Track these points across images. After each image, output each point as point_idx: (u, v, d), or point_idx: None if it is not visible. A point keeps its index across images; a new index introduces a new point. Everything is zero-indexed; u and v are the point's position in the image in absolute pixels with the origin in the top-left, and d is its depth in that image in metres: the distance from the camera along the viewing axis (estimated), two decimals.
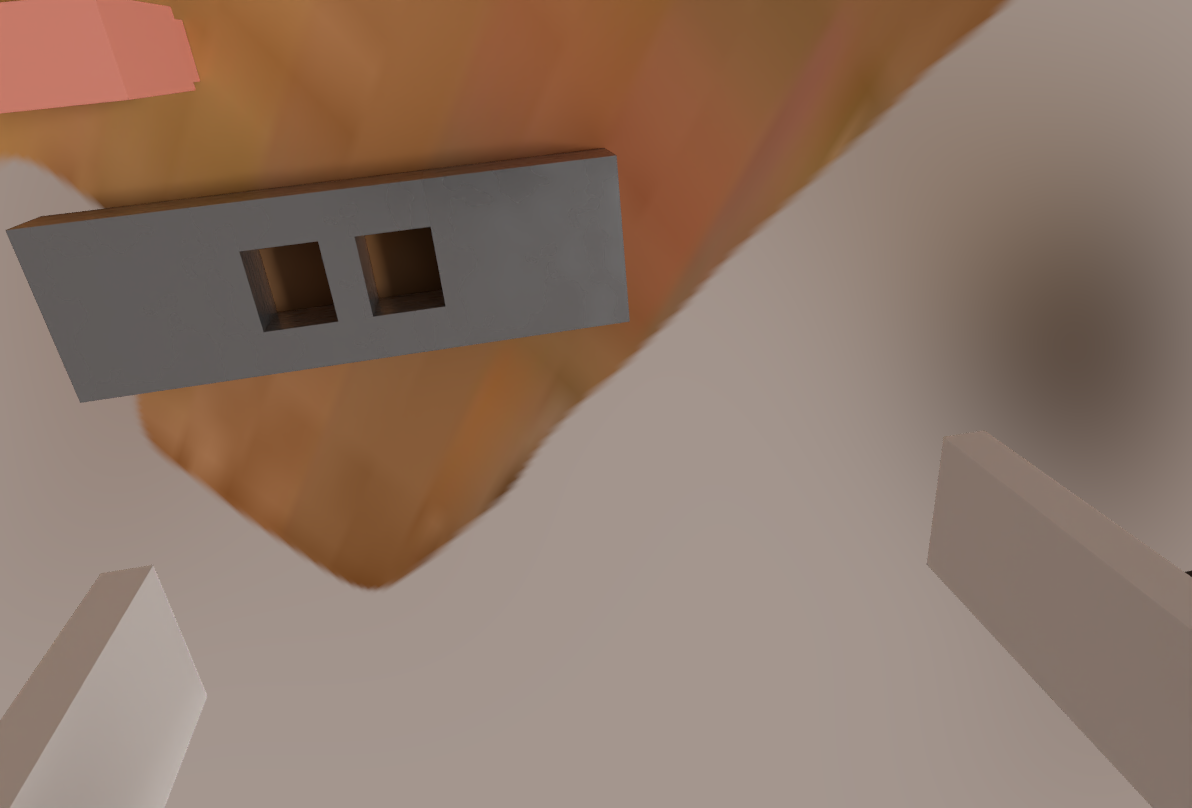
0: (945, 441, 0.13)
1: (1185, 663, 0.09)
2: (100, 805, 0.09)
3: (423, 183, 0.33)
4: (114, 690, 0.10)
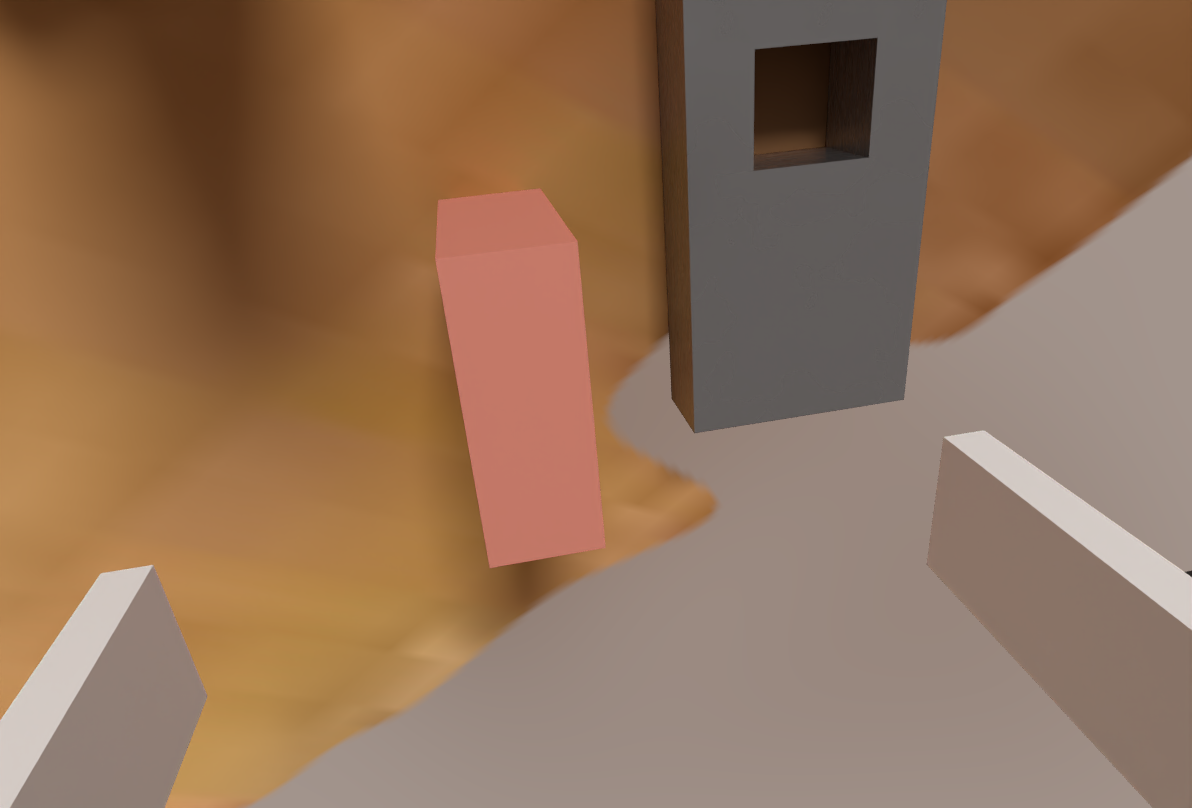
0: (946, 441, 0.13)
1: (1185, 663, 0.09)
2: (100, 805, 0.09)
3: None
4: (114, 690, 0.10)
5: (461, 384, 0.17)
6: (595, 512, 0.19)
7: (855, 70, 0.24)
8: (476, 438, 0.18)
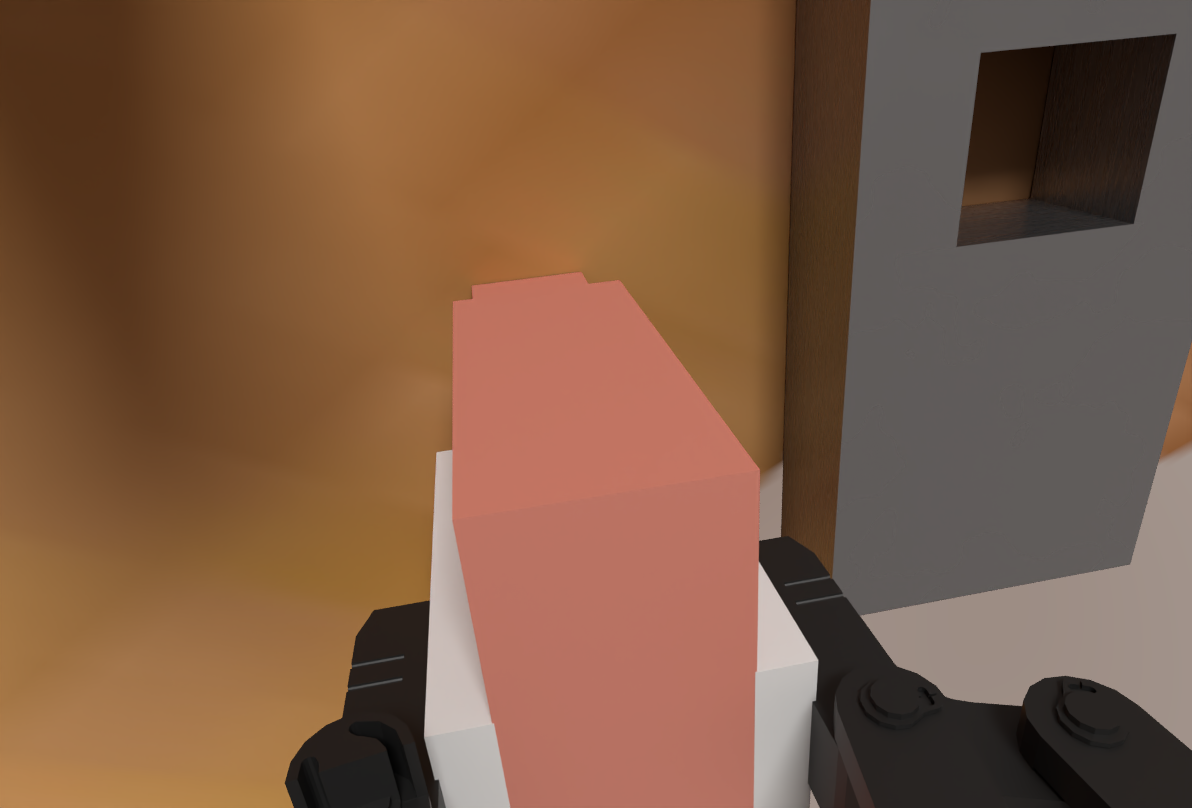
0: None
1: None
2: None
3: None
4: None
5: (503, 738, 0.08)
6: None
7: (1112, 86, 0.15)
8: None
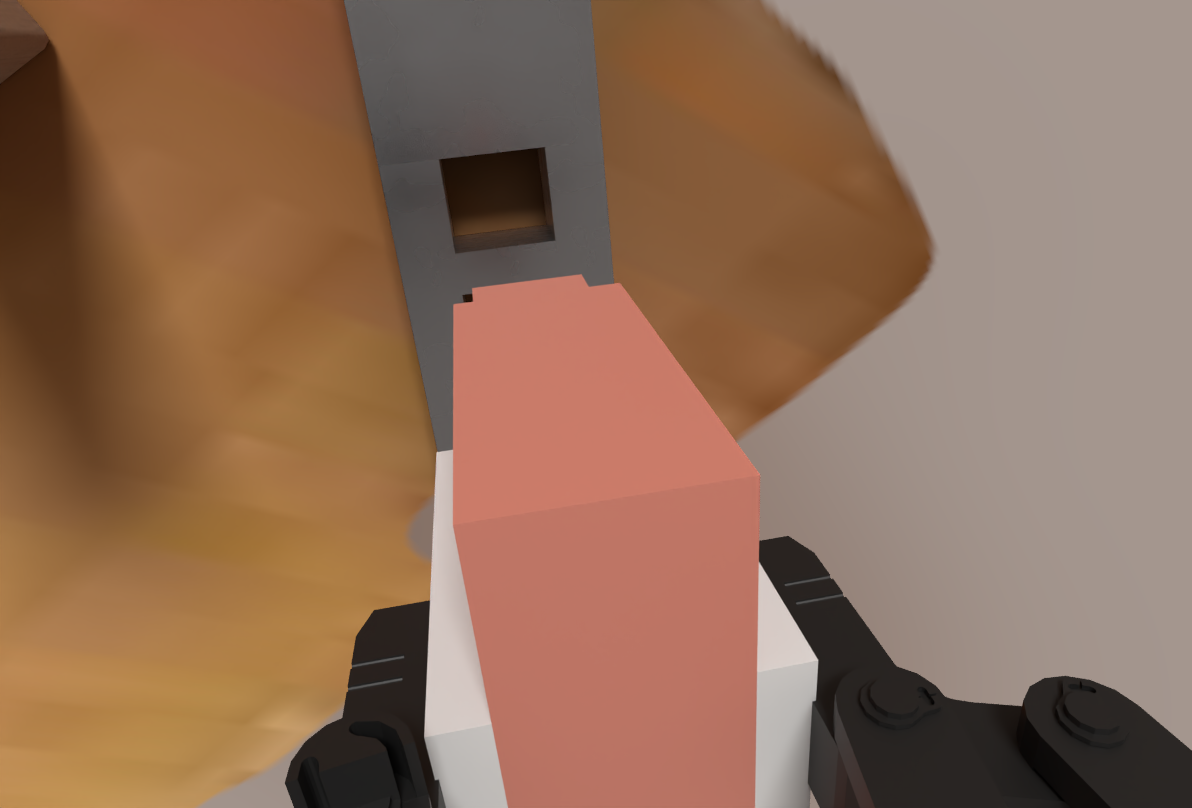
0: None
1: None
2: None
3: (383, 164, 0.26)
4: None
5: (503, 742, 0.08)
6: None
7: None
8: None
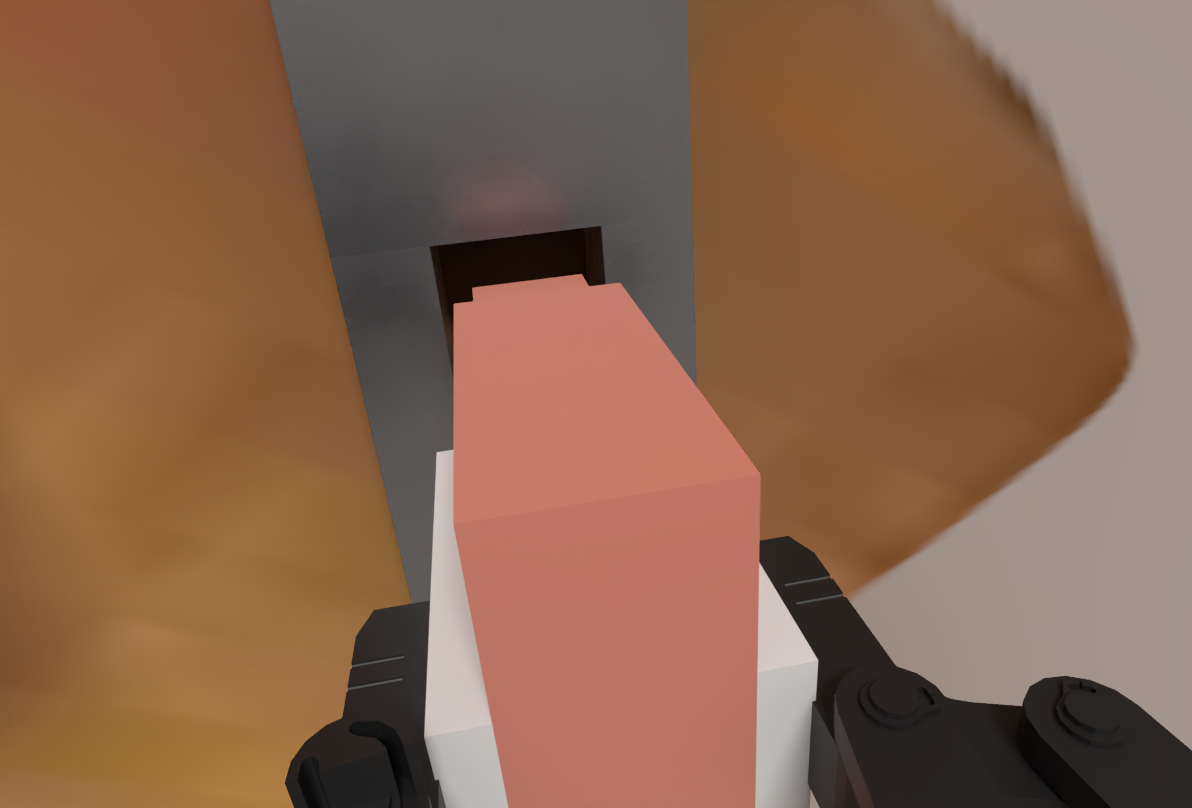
0: None
1: None
2: None
3: (339, 255, 0.16)
4: None
5: (504, 741, 0.08)
6: None
7: None
8: None
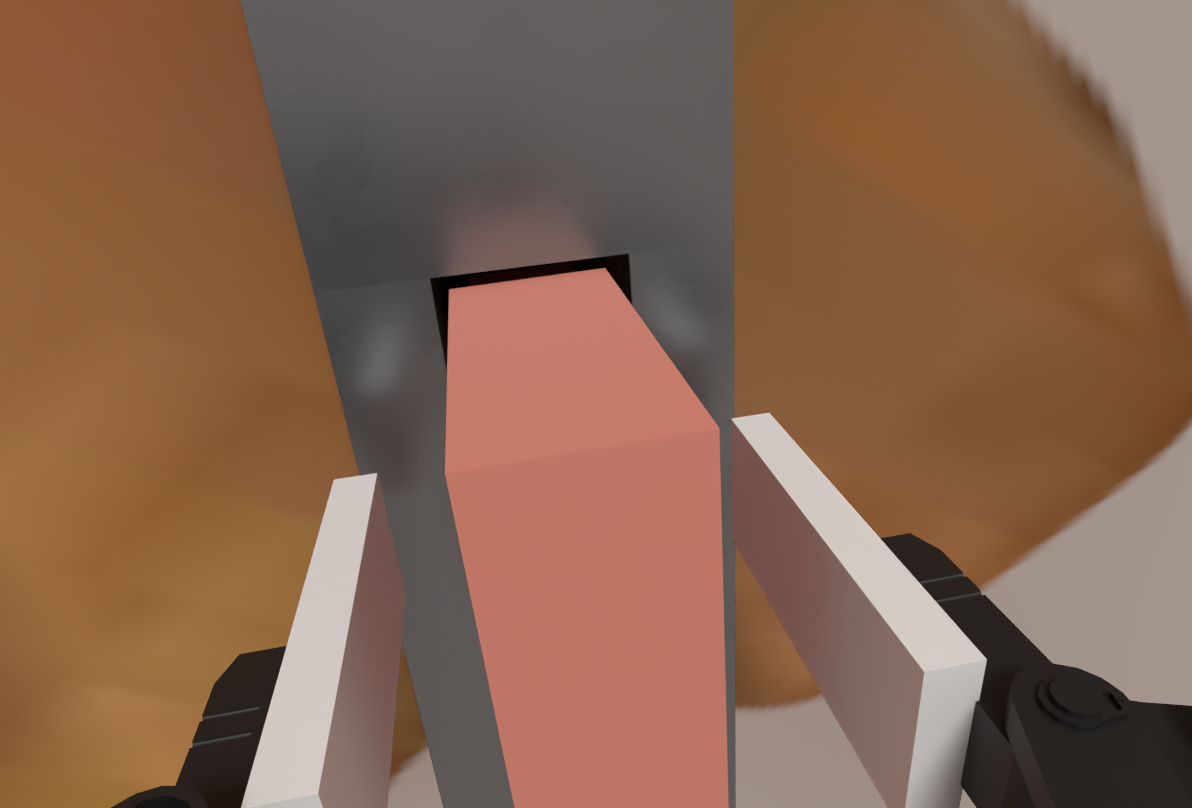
0: (732, 423, 0.14)
1: (853, 608, 0.10)
2: (377, 652, 0.11)
3: (324, 288, 0.14)
4: (373, 565, 0.12)
5: (494, 676, 0.09)
6: None
7: None
8: (519, 752, 0.10)
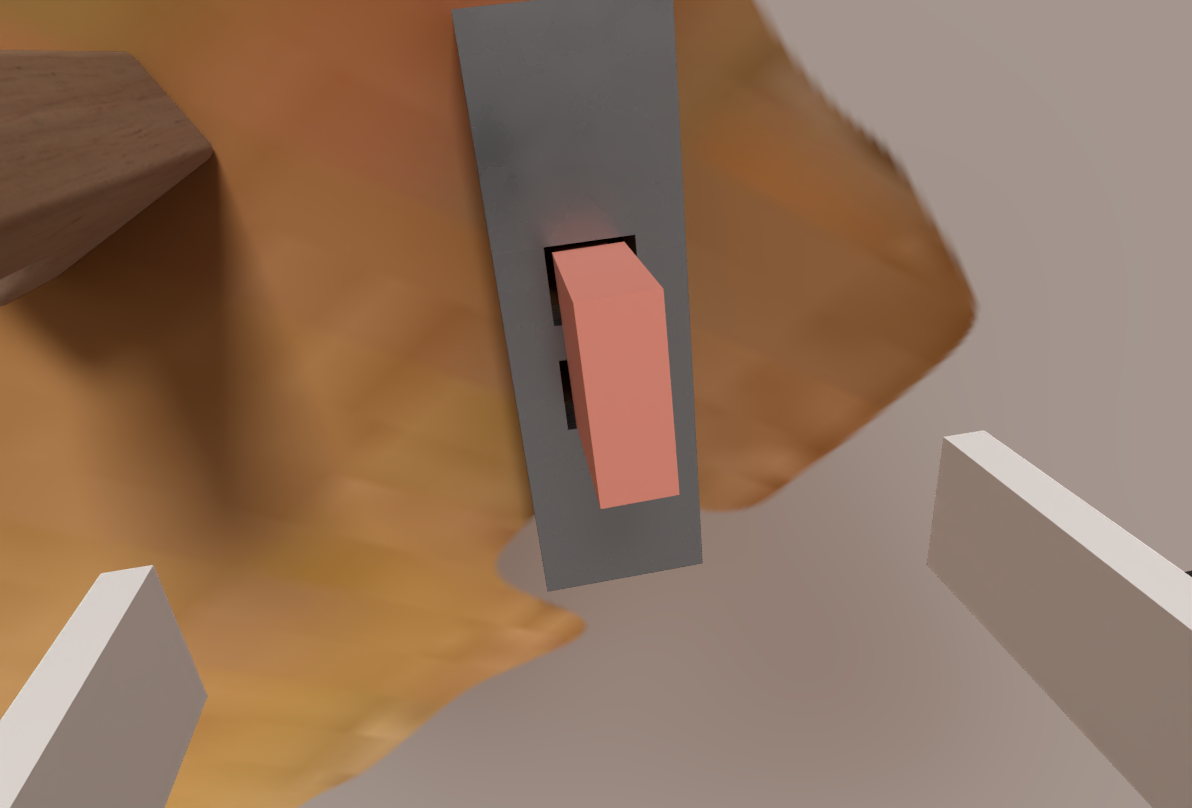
0: (945, 441, 0.13)
1: (1185, 663, 0.09)
2: (100, 805, 0.09)
3: (496, 252, 0.30)
4: (114, 690, 0.10)
5: (586, 383, 0.26)
6: (672, 469, 0.28)
7: None
8: (594, 419, 0.26)
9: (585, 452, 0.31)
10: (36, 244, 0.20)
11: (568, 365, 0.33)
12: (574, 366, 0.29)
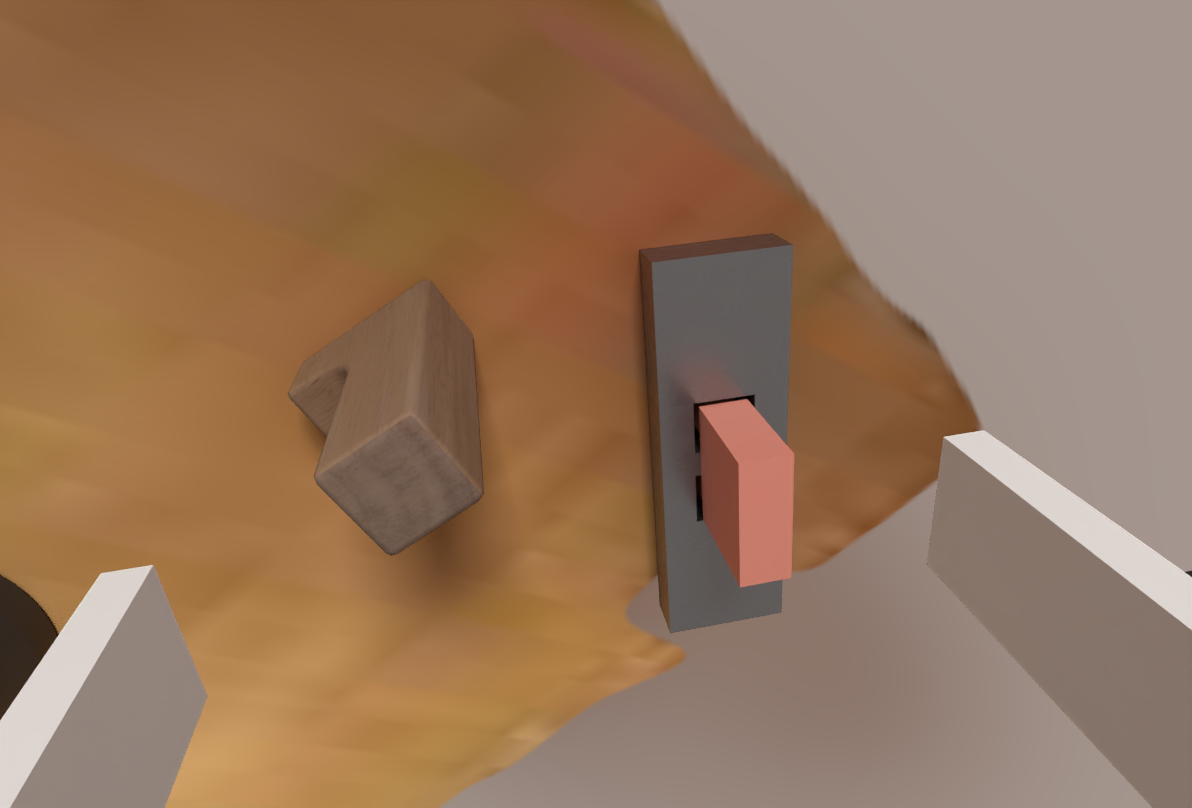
0: (945, 441, 0.13)
1: (1185, 663, 0.09)
2: (100, 805, 0.09)
3: (662, 407, 0.44)
4: (114, 690, 0.10)
5: (740, 510, 0.40)
6: (788, 562, 0.42)
7: None
8: (743, 531, 0.40)
9: (718, 543, 0.45)
10: None
11: (703, 479, 0.47)
12: (719, 489, 0.43)
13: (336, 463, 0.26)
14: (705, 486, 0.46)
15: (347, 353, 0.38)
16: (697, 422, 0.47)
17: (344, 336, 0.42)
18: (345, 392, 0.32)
